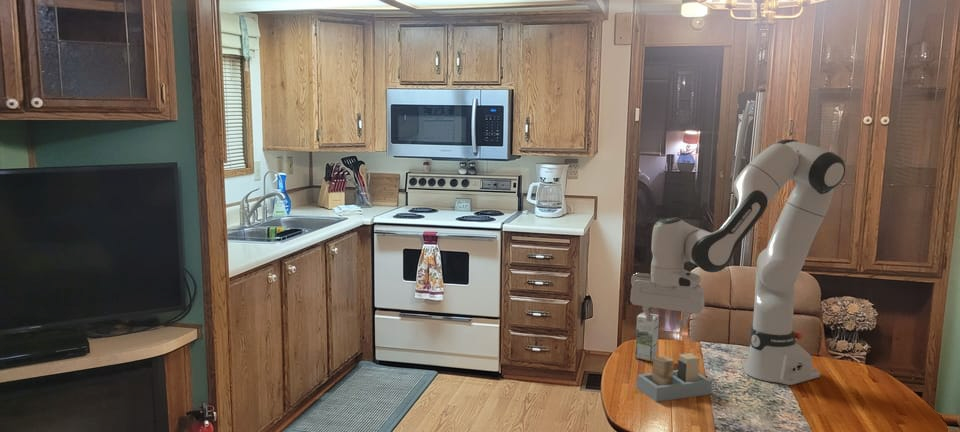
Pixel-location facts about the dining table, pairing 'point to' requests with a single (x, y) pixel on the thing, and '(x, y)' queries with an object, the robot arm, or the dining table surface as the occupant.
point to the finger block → (662, 371)
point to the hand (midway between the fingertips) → (665, 323)
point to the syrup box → (646, 337)
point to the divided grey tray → (678, 382)
